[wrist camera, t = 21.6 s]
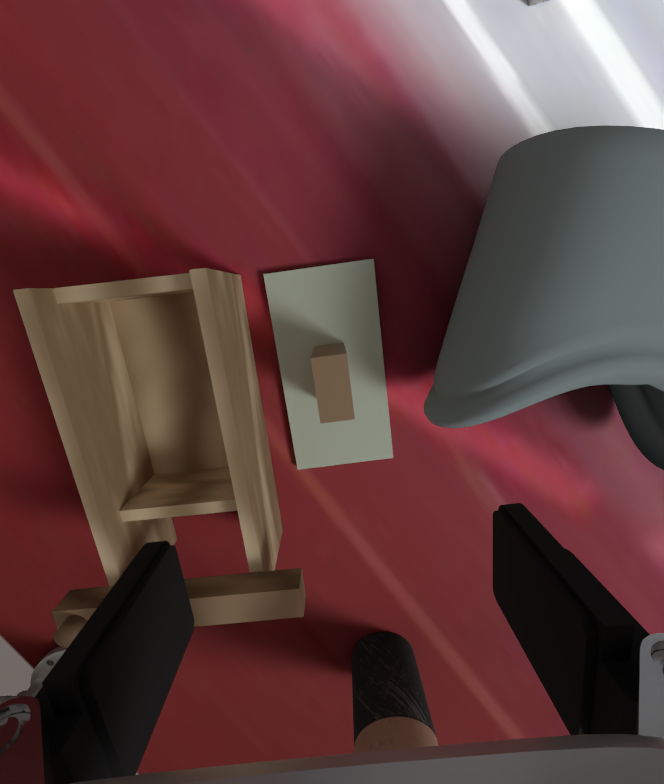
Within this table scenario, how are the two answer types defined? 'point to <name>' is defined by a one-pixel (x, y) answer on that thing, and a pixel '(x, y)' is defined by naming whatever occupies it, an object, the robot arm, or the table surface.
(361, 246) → the table surface
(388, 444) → the lid
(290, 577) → the wooden bar
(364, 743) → the travel mug
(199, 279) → the toolbox
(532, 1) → the syrup box
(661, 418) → the grey hat
